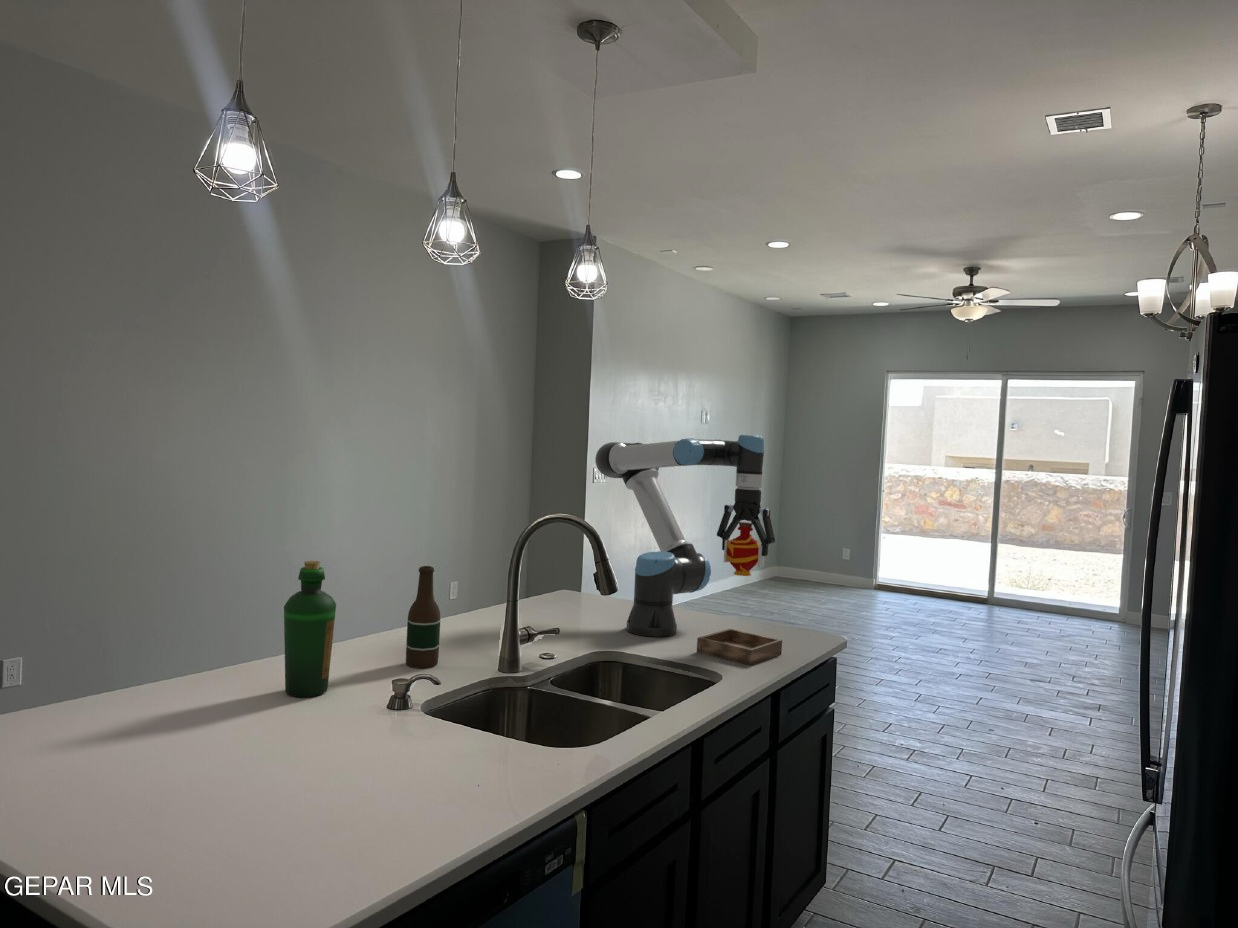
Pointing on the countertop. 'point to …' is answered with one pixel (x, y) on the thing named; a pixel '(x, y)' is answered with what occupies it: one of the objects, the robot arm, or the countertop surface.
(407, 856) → the countertop surface
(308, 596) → the bottle
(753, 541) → the potion bottle
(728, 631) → the walnut tray
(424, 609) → the beer bottle
